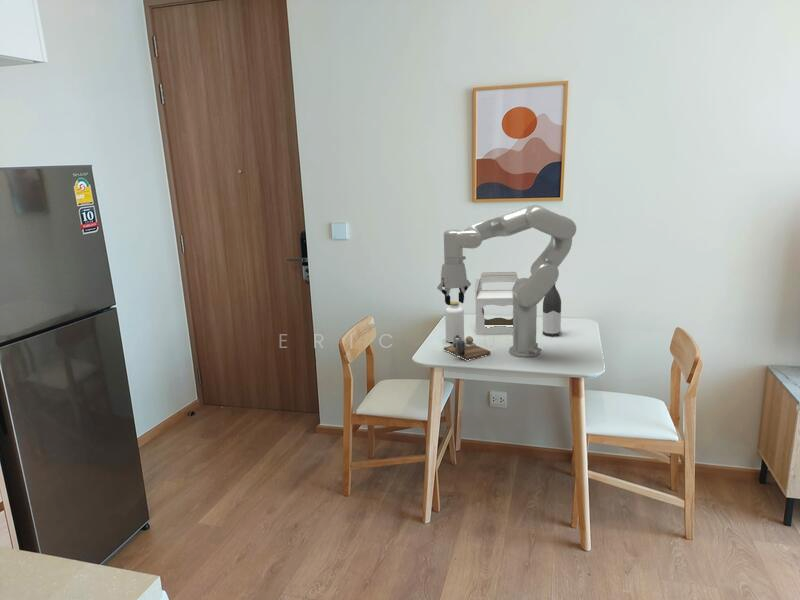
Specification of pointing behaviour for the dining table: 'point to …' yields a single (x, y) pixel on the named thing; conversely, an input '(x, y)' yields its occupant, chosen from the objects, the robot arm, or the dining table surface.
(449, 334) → the white container
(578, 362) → the dining table surface
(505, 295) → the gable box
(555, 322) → the wine bottle
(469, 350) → the board
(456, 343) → the lever
